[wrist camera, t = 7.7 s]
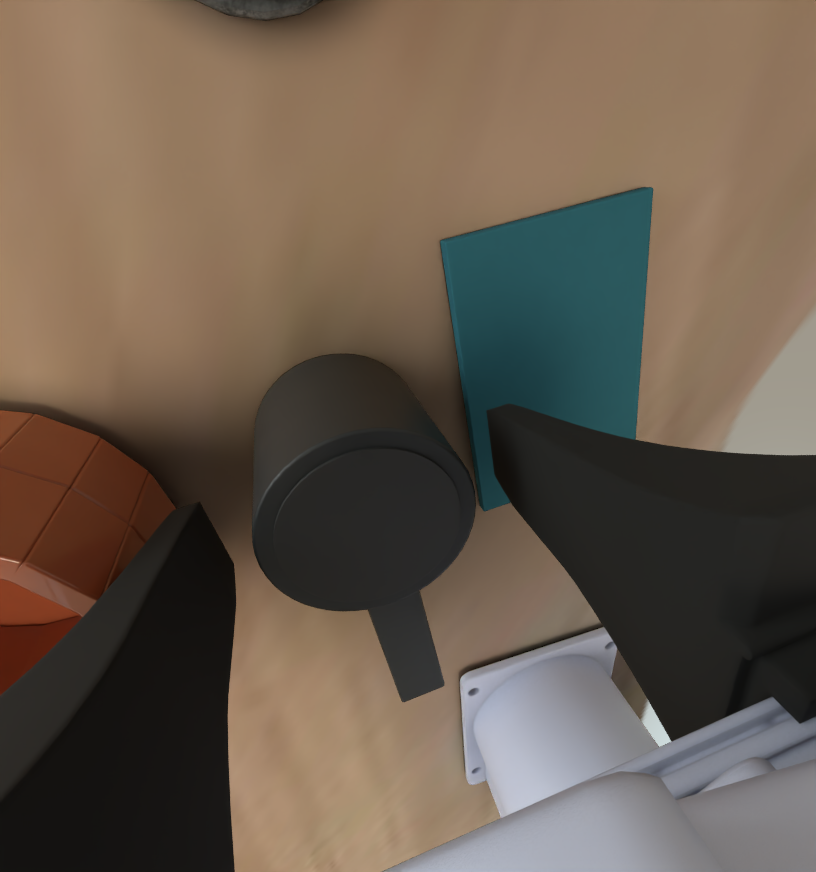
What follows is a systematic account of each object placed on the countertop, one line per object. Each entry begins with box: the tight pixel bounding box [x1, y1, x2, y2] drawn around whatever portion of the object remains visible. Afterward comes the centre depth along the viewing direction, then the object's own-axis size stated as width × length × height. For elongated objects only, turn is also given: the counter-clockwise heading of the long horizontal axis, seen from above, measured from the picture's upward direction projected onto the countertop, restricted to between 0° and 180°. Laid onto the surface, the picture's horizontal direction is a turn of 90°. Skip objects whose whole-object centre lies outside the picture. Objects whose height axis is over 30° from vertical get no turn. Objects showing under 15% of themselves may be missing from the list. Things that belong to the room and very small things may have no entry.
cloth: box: [440, 187, 653, 511], centre depth 15 cm, size 6×9×1 cm, turn 12°
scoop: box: [252, 354, 476, 702], centre depth 13 cm, size 10×5×5 cm, turn 12°
